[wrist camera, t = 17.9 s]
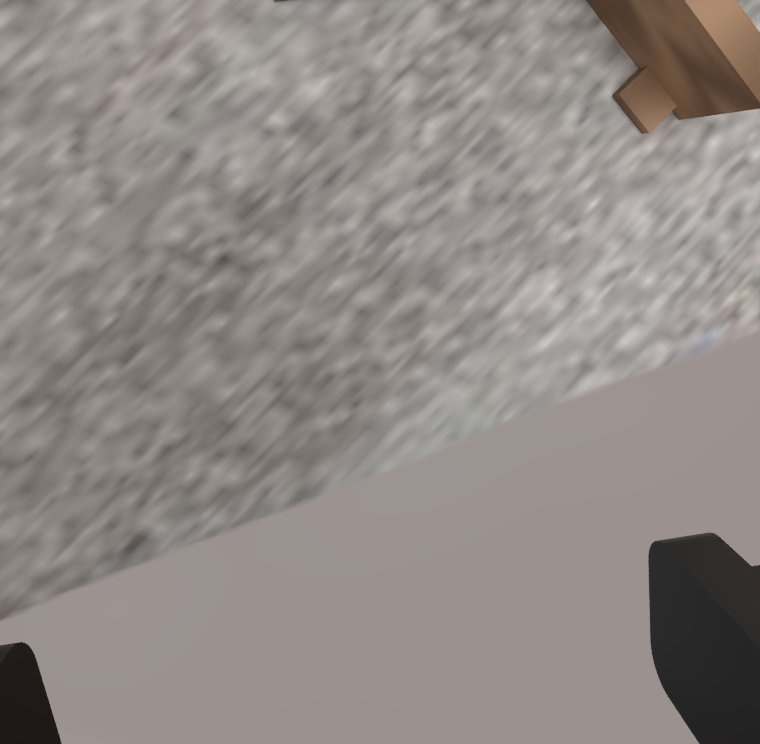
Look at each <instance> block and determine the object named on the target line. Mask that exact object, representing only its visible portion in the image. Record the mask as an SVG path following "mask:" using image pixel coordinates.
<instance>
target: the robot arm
mask: <svg viewBox="0 0 760 744" xmlns="http://www.w3.org/2000/svg"><path fill="white" fill-rule="evenodd" d="M649 594H650V595H649V596H650V636H651V650H652V655H653V660H654V664H655V668H656V671H657V674H658V676H659V679H660V681H661V684H662V686H663V688H664V690H665V692H666V694H667V695H668V697H669V699H670V700H671V702H672V703H673V704H674V706H675V708H676V709H677V711H678V712H679V714H680V715H681V717H682V718H683V720H684V721H685V723H686V724H687V726H688V727H689V729H690V730H691V732H692V733H693V735H694V736H695V738H696V739H697V741H698V742H699V744H760V565H758V566H750V565H749V564H748V563H747V562H746V561H745V560H744V559H743V558H742V557H741V556H739V555H738V554H737V553H736V552H735V551H734V550H733V549H732V548H731V547H730V546H729V545H728V544H726V543H725V542H724V541H723V540H722V539H721V538H720V537H718V536H717V535H716V534H714V533H704V534H698V535H692V536H685V537H679V538H672V539H667V540H660V541H655V542H653V543H652V545H651V547H650V550H649ZM0 744H61V741H60V737H59V733H58V730H57V727H56V723H55V720H54V717H53V714H52V710H51V707H50V704H49V700H48V697H47V694H46V691H45V687H44V684H43V681H42V677H41V674H40V671H39V667H38V664H37V661H36V658H35V655H34V653H33V651H32V649H31V648H30V647H29V646H28V645H27V644H25V643H23V642H21V643H13V644H7V645H0Z"/></svg>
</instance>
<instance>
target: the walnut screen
mask: <svg viewBox="0 0 760 744" xmlns="http://www.w3.org/2000/svg"><path fill="white" fill-rule="evenodd" d="M587 2H588V3H589V4H590V5H591V7H592V8H593V9H594V11H595V12H596V13H597V15H598V16H599V17H600V18H601V20H602V21H603V22H604V24H605V25H606V26H607V27H608V29H609V30H610V31H611V33H612V34H613V35H614V36H615V38H616V39H617V40H618V42H619V43H620V44H621V45H622V47H623V48H624V49H625V51H626V52H627V53H628V54H629V56H630V57H631V58H632V60H633V61H634V62H635V63H636V65H637V66H638V67H639V70H638V71H637V72H636V73H635V74H634V75H633V76H632V77H631V78H630V79H629V80H628V81H627V82H626V83H625V84H624V85H623V86H622V87H621V88H620V89H619V90H618V91H617V92H616V93H614V94H613V95H612V96H613V98H614V99H615V100H616V101H617V103H618V104H619V105H620V106H621V108H622V109H623V110H624V111H625V113H626V114H627V115H628V116H629V118H630V119H631V120H632V121H633V123H634V124H635V125H636V126H637V128H638V129H639V130H640V131H641V133H642V134H643V133H650V132H651V131H652V130H653V129H654V128H655V127H656V126H657V125H658V124H659V123H660V122H661V121H662V120H663V119H664V118H665V117H666V116H667V115H668V114H669V113H670V112H672V111H673V112H674V114H675V115H676V116H677V118H678V119H679V120H682V119H689V118H696V117H703V116H710V115H717V114H724V113H731V112H738V111H745V110H752V109H759V108H760V32H759V31H758V30H757V28H756V27H755V25H754V24H753V23H752V21H751V20H750V18H749V17H748V16H747V14H746V13H745V11H744V10H743V9H742V7H741V6H740V4H739V3H738V1H737V0H587Z"/></svg>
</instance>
